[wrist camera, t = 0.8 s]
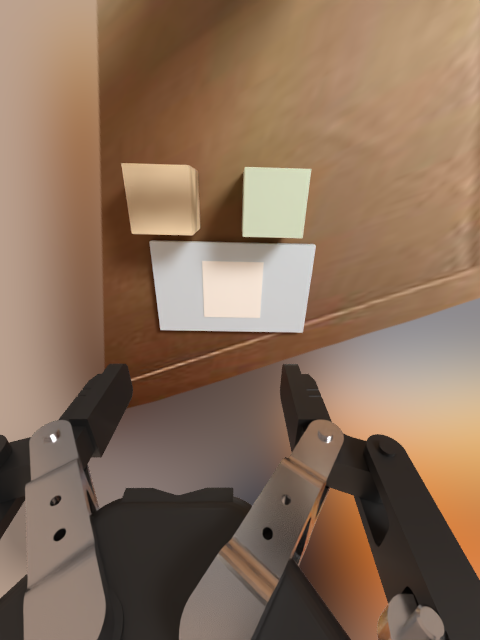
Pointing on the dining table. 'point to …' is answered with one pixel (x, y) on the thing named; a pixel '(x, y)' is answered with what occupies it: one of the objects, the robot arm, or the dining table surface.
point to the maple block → (162, 198)
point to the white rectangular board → (231, 285)
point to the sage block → (274, 202)
